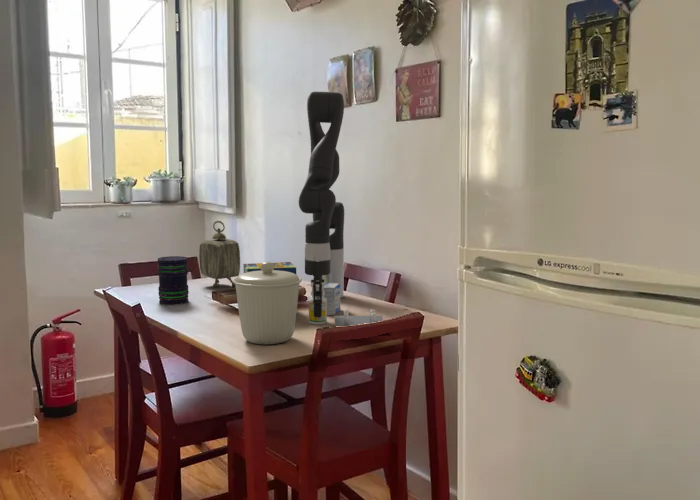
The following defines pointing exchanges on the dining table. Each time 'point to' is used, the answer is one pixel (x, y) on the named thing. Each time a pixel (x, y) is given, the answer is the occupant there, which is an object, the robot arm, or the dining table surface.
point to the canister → (267, 304)
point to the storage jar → (173, 280)
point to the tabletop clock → (219, 257)
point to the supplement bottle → (324, 311)
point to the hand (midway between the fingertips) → (317, 314)
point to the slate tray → (356, 319)
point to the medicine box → (332, 297)
